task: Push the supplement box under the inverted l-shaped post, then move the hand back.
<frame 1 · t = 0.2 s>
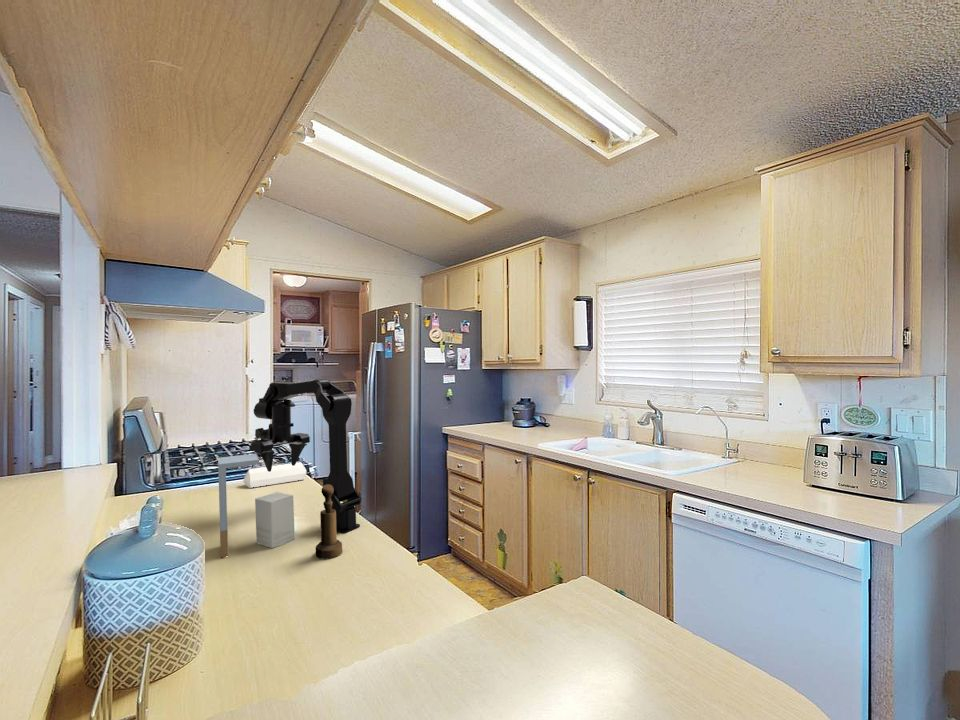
hand: (281, 468, 156), 15 cm above the countertop, tool pointing down, fingers open, 9 cm apart
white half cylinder: (276, 483, 195), on the countertop
brown chess piece: (329, 554, 125), on the countertop
inverted l-shaped post: (247, 546, 130), on the countertop
supplement box: (275, 542, 134), on the countertop
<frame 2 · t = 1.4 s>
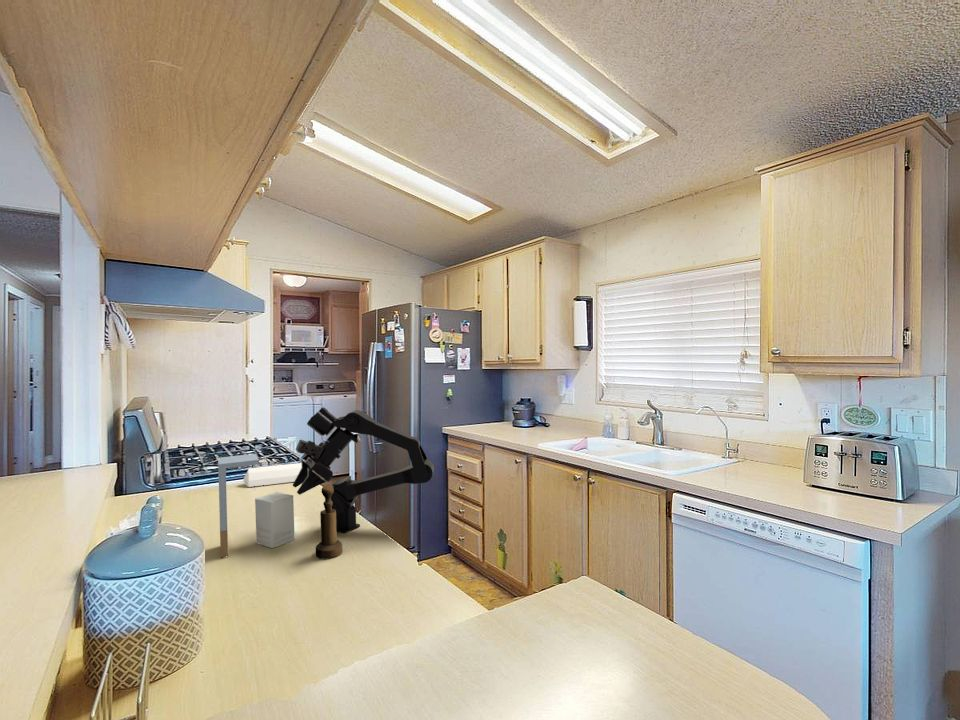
hand: (295, 490, 136), 13 cm above the countertop, tool tilted 45°, fingers open, 8 cm apart
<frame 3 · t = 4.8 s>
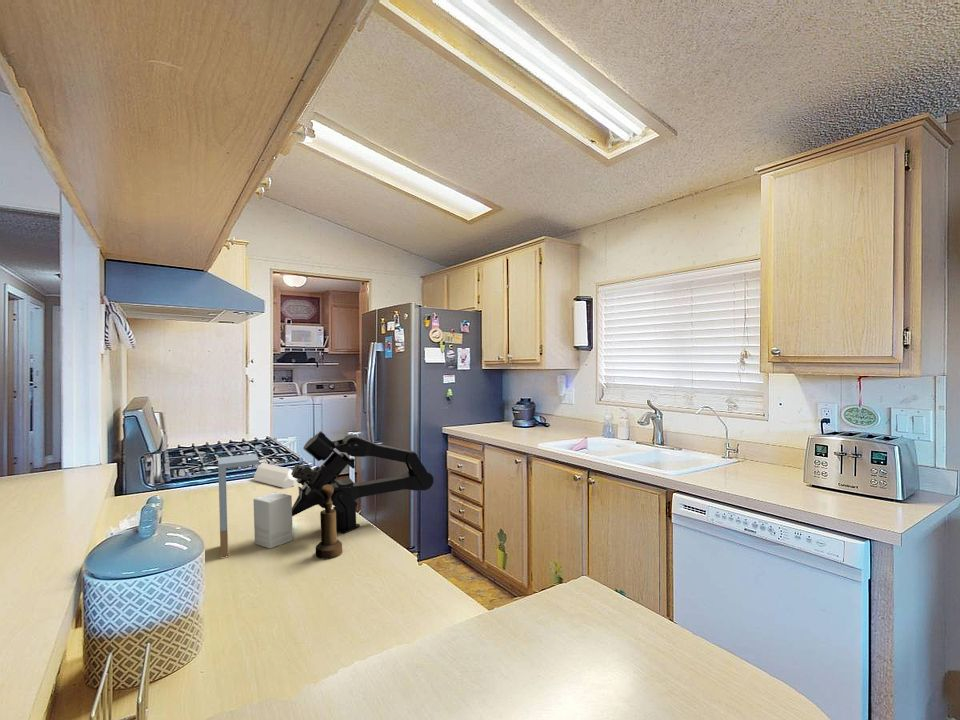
hand: (290, 515, 135), 7 cm above the countertop, tool tilted 45°, fingers closed
supplement box: (273, 542, 133), on the countertop, touching gripper
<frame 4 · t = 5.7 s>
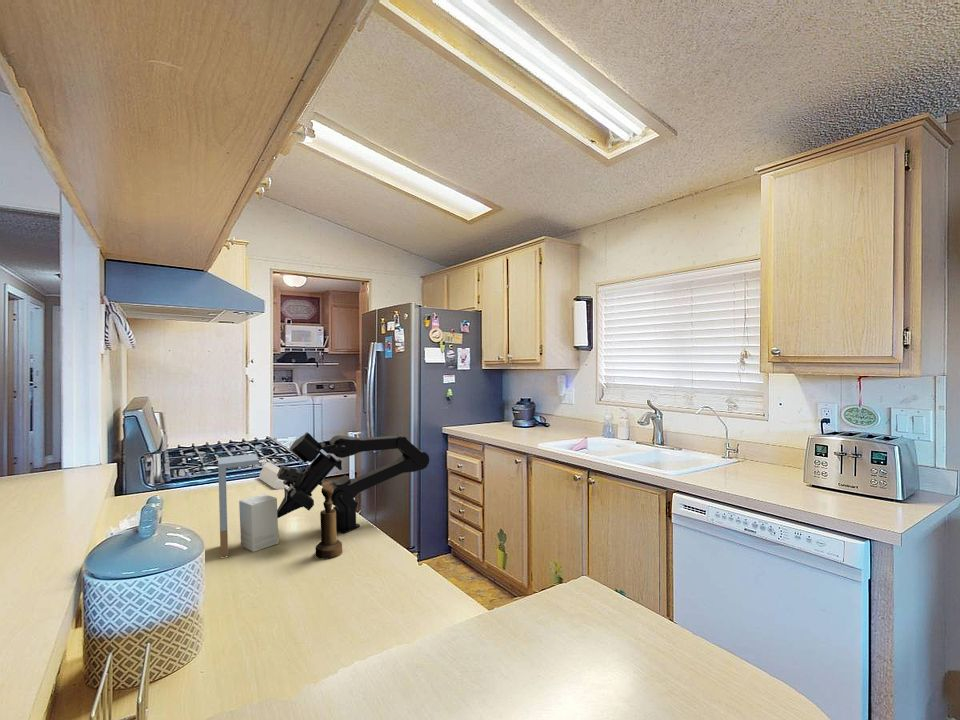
hand: (275, 517, 133), 7 cm above the countertop, tool tilted 45°, fingers closed
supplement box: (259, 545, 131), on the countertop, touching gripper
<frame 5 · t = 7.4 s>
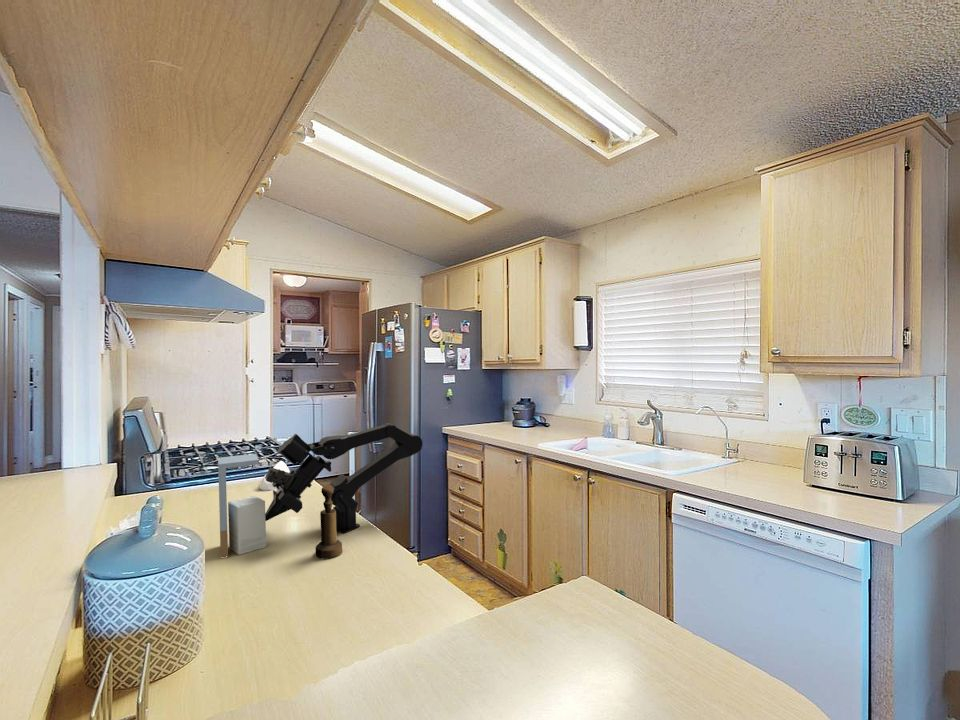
hand: (264, 519, 132), 7 cm above the countertop, tool tilted 45°, fingers closed
supplement box: (247, 548, 130), on the countertop
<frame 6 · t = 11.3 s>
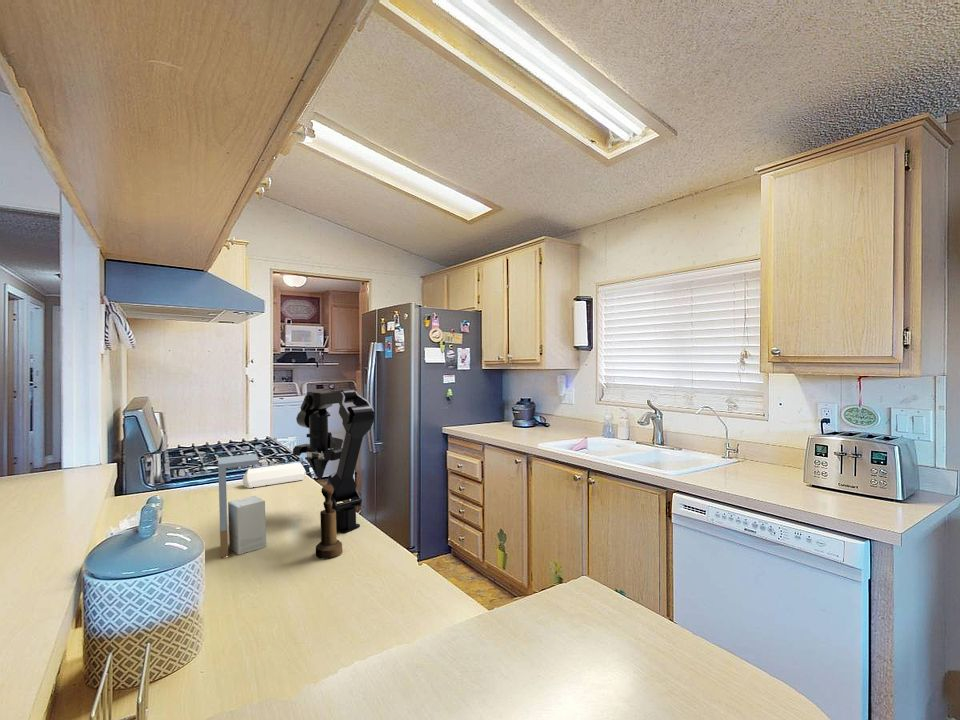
hand: (319, 478, 154), 12 cm above the countertop, tool pointing down, fingers closed
at the end: supplement box inside the target area (0.4 cm from its centre), on the countertop; supplement box tilted 0°; supplement box moved 7.0 cm from its start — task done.
